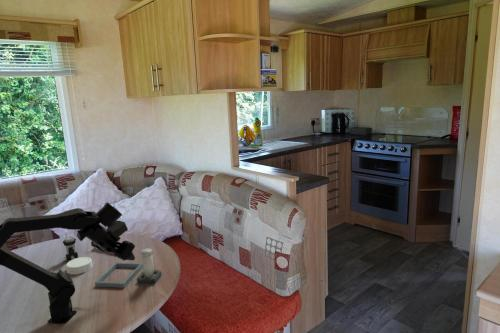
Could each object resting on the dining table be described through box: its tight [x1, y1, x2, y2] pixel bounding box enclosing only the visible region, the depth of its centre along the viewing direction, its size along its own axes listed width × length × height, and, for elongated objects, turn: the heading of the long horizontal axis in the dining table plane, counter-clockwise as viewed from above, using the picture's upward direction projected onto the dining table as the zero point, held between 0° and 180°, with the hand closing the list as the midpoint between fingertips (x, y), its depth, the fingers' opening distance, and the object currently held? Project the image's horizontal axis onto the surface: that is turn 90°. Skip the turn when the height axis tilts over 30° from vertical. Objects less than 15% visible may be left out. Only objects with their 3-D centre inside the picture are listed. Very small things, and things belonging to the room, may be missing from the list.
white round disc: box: [65, 256, 93, 275], centre depth 149 cm, size 10×10×4 cm
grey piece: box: [134, 269, 164, 287], centre depth 137 cm, size 10×8×3 cm
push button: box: [61, 236, 79, 262], centre depth 158 cm, size 7×5×10 cm
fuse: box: [140, 248, 155, 278], centre depth 136 cm, size 4×4×12 cm
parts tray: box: [94, 262, 143, 289], centre depth 140 cm, size 16×12×2 cm
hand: (126, 255), depth 130 cm, fingers open, 9 cm apart
